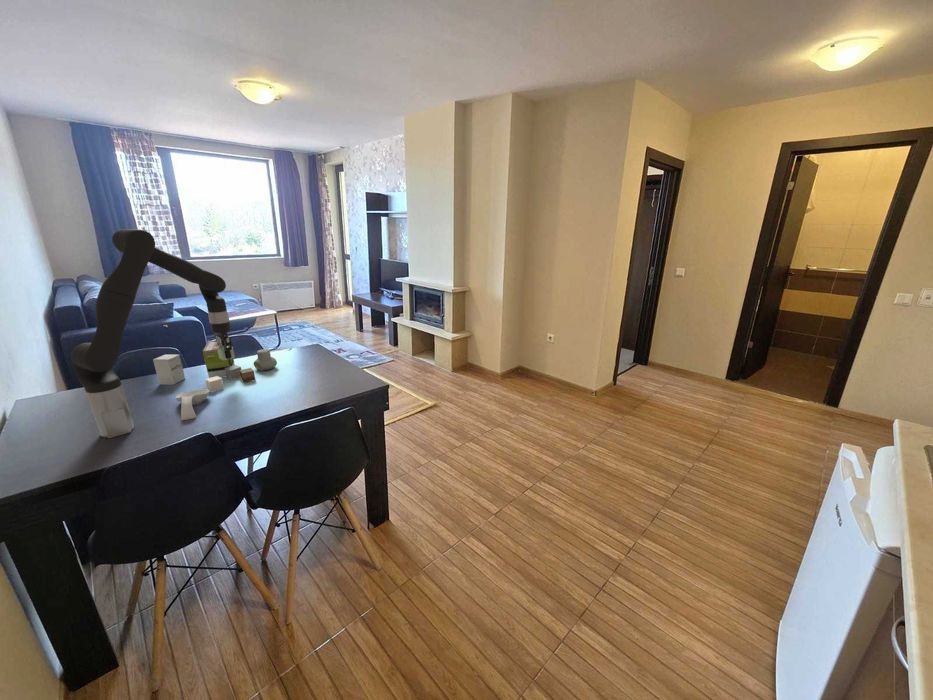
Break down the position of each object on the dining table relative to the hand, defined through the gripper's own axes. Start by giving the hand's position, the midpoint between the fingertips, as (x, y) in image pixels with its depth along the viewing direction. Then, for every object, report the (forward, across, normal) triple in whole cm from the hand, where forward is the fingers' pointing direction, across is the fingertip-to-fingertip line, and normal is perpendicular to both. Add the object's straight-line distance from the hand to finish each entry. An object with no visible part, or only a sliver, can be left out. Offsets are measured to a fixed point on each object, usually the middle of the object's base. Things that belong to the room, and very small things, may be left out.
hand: (226, 356), depth 174 cm
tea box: (+14, +20, -2) cm, 24 cm away
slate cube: (+14, +9, -4) cm, 17 cm away
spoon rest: (+14, -14, +19) cm, 28 cm away
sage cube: (0, 0, 0) cm, 0 cm away
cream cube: (+14, 0, +7) cm, 16 cm away
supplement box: (+14, +24, +18) cm, 33 cm away
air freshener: (+14, +9, -19) cm, 25 cm away
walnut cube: (+14, 0, -7) cm, 16 cm away
